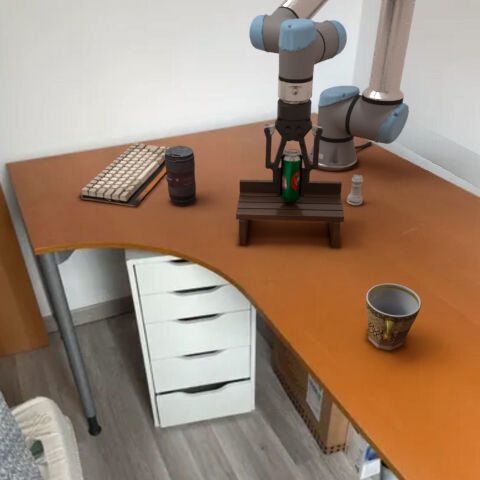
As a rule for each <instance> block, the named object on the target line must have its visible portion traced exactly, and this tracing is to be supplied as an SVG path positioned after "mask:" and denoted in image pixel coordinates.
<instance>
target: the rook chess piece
mask: <svg viewBox="0 0 480 480" xmlns="http://www.w3.org/2000/svg"><path fill="white" fill-rule="evenodd" d="M351 181H352V183H351V189H350V193H349V194H348V195H347V198H346V202H347V204H348V205H349V206H352V207H353V206H354V207H356V206H360V205H362V203H363V201H364V198H363V195H362V186H363V184H362V183H363V182H364V178H363V175H361V174H354V175H352V178H351Z"/></svg>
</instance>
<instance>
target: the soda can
mask: <svg viewBox="0 0 480 480" xmlns="http://www.w3.org/2000/svg"><path fill="white" fill-rule="evenodd" d="M303 163H304V162H303V158H302V153H301V150H298V149H286V150H284V152H283V155H282V158H281V161H280V167H281V180H280V198H281V199H282V200H283V201H284V202H288V203H293V202H296V201H298V200H299V199H300V195H301V178H302V168H303Z"/></svg>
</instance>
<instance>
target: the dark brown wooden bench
mask: <svg viewBox="0 0 480 480" xmlns="http://www.w3.org/2000/svg"><path fill="white" fill-rule="evenodd" d="M342 186H343V181H335V180H334V181H332V180H309V183H305V184H304V197H301V195H300V199H299V200H298V201H296V202H293V203H288V202H284V201H283V200H282V199H281V198H280V197H277V183H273V179H271V180H270V179H239V193H238V194H239V195H238V199H237V206H236V212H235V220H238V231H239V232H238V242H239V243H238V244H239V246H246V243H247V235H248V227H249V221H283V222H284V221H285V222H286V221H288V222H296V221H297V222H322V223H323V222H325V223H326V222H328V227H329V235H330V245H331V248H332V249H338V248H339V241H340V233H341V232H340V231H341V223H344V222H345V214H344V207H343V206H344V205H343V201H342V200H343V199H342Z"/></svg>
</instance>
